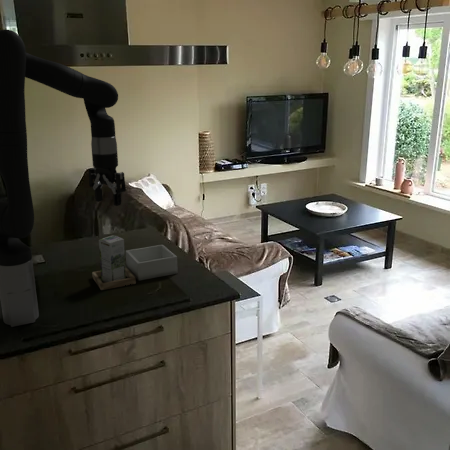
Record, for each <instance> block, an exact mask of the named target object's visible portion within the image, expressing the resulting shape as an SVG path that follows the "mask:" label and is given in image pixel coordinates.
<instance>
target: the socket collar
mask: <svg viewBox="0 0 450 450" xmlns="http://www.w3.org/2000/svg"><path fill="white" fill-rule="evenodd" d="M91 275H92V279H93V280H94V282H95V283H96V285H97V287H98V288H99V289H100V291H105V290H111V289H116V288H120V287H125V285H126V286H130V284H131V285H135V284H136V283H137V281H136V280H137V278H136V277H135V276H134V275H133V274H132V272H131V271H130V270H129V269H128V268H127V266H125V275H126V277H127V278H126V279H121V280H116V281H110V282H103V281H102V280H101V270H97V271H92V273H91Z"/></svg>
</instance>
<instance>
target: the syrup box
mask: <svg viewBox="0 0 450 450" xmlns="http://www.w3.org/2000/svg"><path fill="white" fill-rule="evenodd" d="M98 248H99V250H98V251H99V264H100V266H99V267H100V271H101V277H100V280H101V281H102V283H105V282H110V281H116V280H121V279H127V278H126V277H127V276H126V275H125V267H126V252H125V239H124V238H122V237H120V236H118V235H109V236H106V237H103V238H100V239H98Z"/></svg>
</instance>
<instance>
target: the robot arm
mask: <svg viewBox="0 0 450 450" xmlns="http://www.w3.org/2000/svg"><path fill="white" fill-rule="evenodd" d="M26 79H28V80H32V81H34V82H37V83H39V84H42V85H45V86H47V87H49V88H52V89H54V90H56V91H58V92H61V93H63V94H65V95H67V96H71V97H73V98H78V99H83V103H84V106H85V107H84V108H85V109H86V113H87V114H86V115H87V117H88V119H89V122H90V133H91V135H90V136H91V141H90V142H91V143H90V145H91V148H90V149H91V158H92V167H91V168H88V185H89V187H90V188H92V189H93V190H94V198H95V201H96V202H97V203H99V202H103V200H104V199H103V198H104V197H103V188H102V187H104V185H105V186H108V188H109V189H111V191H112V193H113V194H112V195H113V196H112V197H113V198H112V199H113V206H115V207H118V206H121V205H122V193H124V192H126V191H127V189H126V188H127V187H126V179H125V172H123V171H121V172H117V167H119V157H118V144H117V137H116V123H115V120H114V117H113V116H110V115H109V114H108V113H107V109H108V108H113V106H115V105H116V104H117V103H118V101H119V100H118V99H119V93H118V90H117V88H116V87H115V86H114V85H112V84H111V83H109V82H107V81H105V80H103V79H102V80H101V79H99V78H96V77H92V76H89V75H86V74H84V73H83V72H81V71H78V70H77V69H74V68H72V67H70V66H67V65H65V64H62V63H60V62H56V61H54V60H53V61H52V60H48V59H45V58H42V57H40V56H39V57H38V56H36V55H33V54H30V53H28V52H27V49H26V45H25V42H24V40H23V39H22V37H21V36H20V35H19V34H18V33H17V32H15V31H14V30H11V29H7V28H6V29H5V28H4V29H0V177H2V180H3V183H4V186H5V189H6V197H7V201H6V200H0V306H1V311H2V320H3V323H4V324H5V325H9V326H10V327H11V328H13V327H18V326H23V325H24V326H25V325H29V324H32V323H35V322H36V320H37V319H39V317H40V313H39V303H38V297H37V290H36V289H37V287H36V279H35V272H34V263H33V255H32V253H33V252H32V249H31V248H30V247H29V245H27V244H26V243H24V242H22V240H21V239H25V238H27V237H28V236H30V234H31V233H32V232H33V229H34V225H35V209H34V204H33V203H34V202H33V197H32V196H33V195H32V192H31V190H32V189H31V184H30V175H29V174H30V173H29V162H28V159H29V158H28V133H27V131H28V130H27V122H26V117H27V116H26V98H25V97H26V96H25V86H26V85H25V84H26Z"/></svg>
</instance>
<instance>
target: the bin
mask: <svg viewBox="0 0 450 450" xmlns="http://www.w3.org/2000/svg"><path fill="white" fill-rule="evenodd" d="M125 267H126V268H127V269H128V270H129V271H130V272H131V273H132V274H133V276H134V277H135V278H136V280H137V281H144V280H149V279H154V278H160V277H161V278H162V277H165V276H170V275H176V274H177V275H178V272H179V271H178V270H179V269H178V256H177V255H176V254H175V253H173V252H172V251H171V250H170V249H168V247H167V246H165V245H164V244H158V245H157V244H156V245H152V246H151V245H150V246H147V247H141V248H133V249H132V248H131V249H126V250H125Z"/></svg>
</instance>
